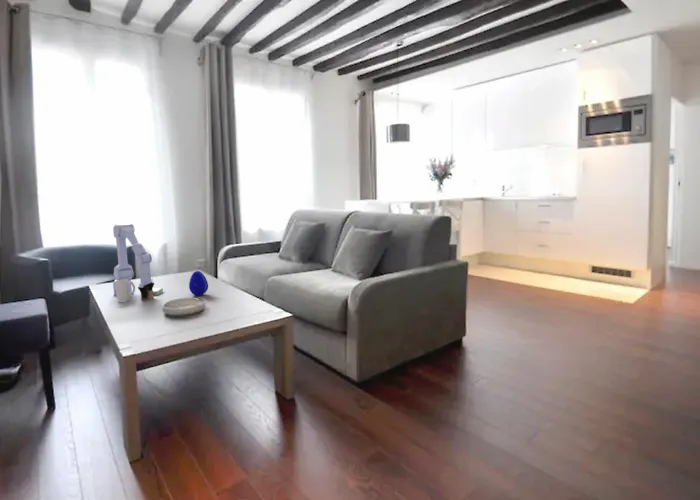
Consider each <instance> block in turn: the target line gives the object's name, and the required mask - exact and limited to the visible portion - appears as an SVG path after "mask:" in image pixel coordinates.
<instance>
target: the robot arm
mask: <svg viewBox="0 0 700 500" xmlns="http://www.w3.org/2000/svg"><path fill="white" fill-rule="evenodd" d="M112 231H113V237H114V238H115V240H116V251H117V262H118V263H117V265H115V266H114V267H113V278H114V281H113V283H112V285H113V296H117V295H116V287H115V281H117V280H128V282H129V283H130V282H132V278H133V277H134V269H133V266H132V265H131V264H129V262H128V251H127V250H128V249H127V240H128V241H129V243H130V244H131V245H132V247H131V250H132V252H133V253H134V255H135V256H136V262H137V263H136V264H137V267H138V269H139V281H140V282H139V284H138V287H137V288H138V291H139V292H140V295H141V294H142V297H143V298H147V295H148V290H152V289H153V288H154V286H155V282H154V280H153V278H152V272H151V263H152V262H153V261H152V260H153V259H152V255H151V254H150V253H149V252H148V251H146V249H145V248H144V246H143V244H142V243H139V241H138V239H137V237H136V234H135V226H134V224H133V223H123V224H121V223H119V224H114V226H113V228H112ZM128 287H129V293H131V292H132V291H133V286H132V285H131V284H130V285H128ZM135 292H136V290H135V291H134V293H135Z"/></svg>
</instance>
